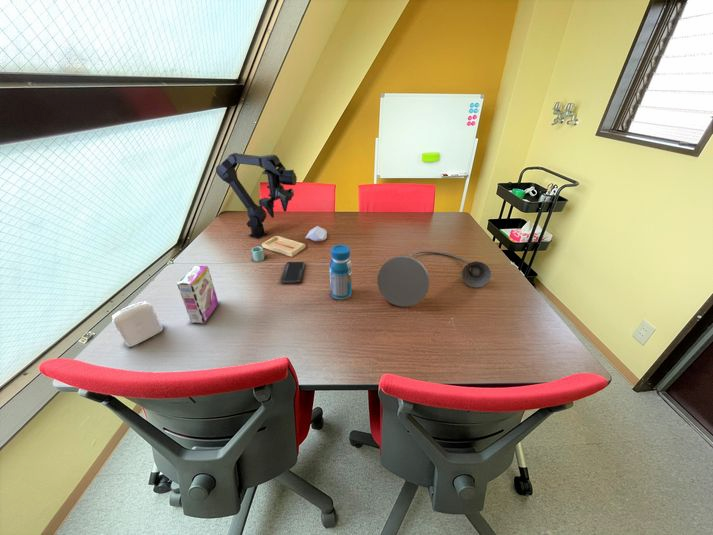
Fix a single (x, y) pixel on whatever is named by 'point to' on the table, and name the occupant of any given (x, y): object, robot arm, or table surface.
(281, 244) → the red thin rounded piece
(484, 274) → the desk lamp
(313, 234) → the crumpled paper
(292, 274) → the phone
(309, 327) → the table surface
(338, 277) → the beverage bottle
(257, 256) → the cup
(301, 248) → the tray
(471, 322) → the table surface
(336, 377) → the table surface
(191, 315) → the candy bar box
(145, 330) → the photo printer
